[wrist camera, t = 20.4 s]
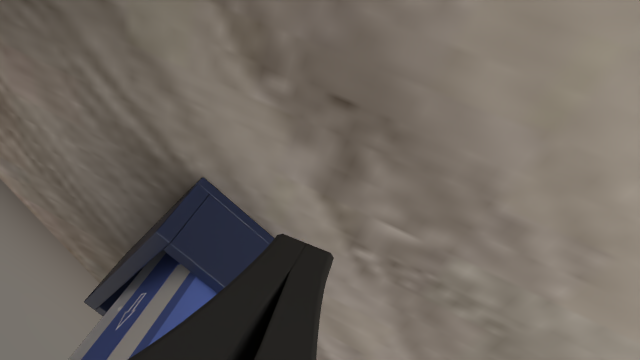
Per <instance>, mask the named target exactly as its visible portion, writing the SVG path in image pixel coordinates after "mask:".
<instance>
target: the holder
mask: <svg viewBox="0 0 640 360" xmlns="http://www.w3.org/2000/svg"><path fill="white" fill-rule="evenodd" d="M273 240H274V238H273V237H272V236H271V235H270V234H268V233H267V232H266V231H265V230H264V229H263V228H262V227H260V226H259V225H258V224H257V223H256V222H255V221H253V220H252V219H251V218H250V217H249V216H248V215H246V214H245V213H244V212H243V211H242V210H241V209H239V208H238V207H237V206H236V205H235V204H234V203H232V202H231V201H230V200H229V199H228V198H227V197H226V196H224V195H223V194H222V193H221V192H220V191H219V190H217V189H216V188H215V187H214V186H213V185H212V184H210V183H209V182H208V181H207V180H206V179H205V178H203V177H202V178H201V179H200V180H199V181H198V182H197V183H196V184H195V185H194V186H193V187H192V188H191V189H190V190H189V191H188V192H187V193H186V194H185V195H184V196H183V197H182V198H181V199H180V200H179V201H178V202H177V203H176V204H175V205H174V206H173V207H172V208H171V209H170V210H169V211H168V212H167V213H166V214H165V215H164V216H163V217H162V218H161V219H160V220H159V221H158V222H157V223H156V224H155V225H154V226H153V227H152V228H151V229H150V230H149V231H148V232H147V233H146V234H145V235H144V236H143V237H142V238H141V239H140V240H139V241H138V242H137V243H136V244H135V245H134V246H133V247H132V248H131V249H130V250H129V251H128V252H127V253H126V254H125V256H124V257H123V258H122V259H121V260H120V261H119V262H118V264H117V265H116V266H115V267H114V268H113V269H112V270H111V271H110V273H109V274H108V275H107V276H106V277H105V278H104V279H103V281H102V282H101V283H100V284H99V285H98V286H97V287H96V289H95V290H94V291H93V292H92V293H91V294H90V295H89V296H88V298H87V299H86V300H85V301H84V302H85V303H86V304H87V305H89V306H90V307H91V308H93V309H94V310H95V309H96V310H95V311H97V312H98V313H99V314H101V315H102V316H104V315H105V314H106V313H107V311H108V310H109V309H110V308H111V306H112V305H113V304H114V303H115V302H116V300H117V299H118V298H119V297H120V295H121V294H122V293H123V292H124V291H125V289H126V288H127V287H128V286H129V285H130V283H131V282H132V281H133V280H134V278H135V277H136V276H137V275H138V274H139V272H140V271H141V270H142V269H143V267H144V266H145V265H146V264H147V263H148V262H149V261H151V260H152V259H153V258H154V257H155V256H156V255H157V254H158V253H159V252H162V251H165V252H166V253H167V254H169V255H170V256H171V257H173V258H174V259H175V260H176V261H178V262H179V263H180V264H181V265H183V266H184V267H185V268H186V269H188V270H189V271H190V272H191V273H193V274H194V275H195V276H196V277H198V278H199V279H200V280H201V281H203V282H204V283H205V284H206V285H208V286H209V287H210V288H211V289H213V290H214V291H215V292H216V293H219V292H220V291H221V290H222V289H223V288H224V287H226V286H227V285H228V284H229V283H230V282H231V281H232V280H234V279H235V278H236V277H237V276H238V275H239V274H240V273H241V272H242V271H244V270H245V269H246V268H247V267H248V266H249V265H250V264H251V263H252V262H253V261H254V260H255V259H256V258H257V257H258V256H259V255H260V254H261V253H262V252H263V251H264V250H265V249H266V248H267V247H268V246H269V244H270V243H271V242H272V241H273Z"/></svg>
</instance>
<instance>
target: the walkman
mask: <svg viewBox="0 0 640 360" xmlns="http://www.w3.org/2000/svg"><path fill="white" fill-rule="evenodd" d="M217 294H218V293H216V292H215V291H214V290H213V289H211V288H210V287H209V286H208V285H206V284H205V283H204V282H203V281H201V280H200V279H199V278H198V277H196V276H195V275H194V274H193V273H191V272H190V271H189V270H188V269H186V268H185V267H184V266H183V265H181V264H180V263H179V262H178V261H176V260H175V259H174V258H173V257H171V256H170V255H169V254H167V253H166V252H165V251H162V252H159V253H158V254H157V255H156V256H155V257H154V258H153V259H152V260H151V261H149V262H148V263H147V264H146V265H145V266H144V267H143V269H142V270H141V271H140V272H139V274H138V275H137V276H136V277H135V278H134V280H133V281H132V282H131V283H130V285H129V286H128V287H127V288H126V289H125V291H124V292H123V293H122V294H121V295H120V297H119V298H118V299H117V300H116V302H115V303H114V304H113V305H112V306H111V308H110V309H109V310H108V311H107V313H106V314H105V315H104V316H103V318H102V319H101V320H100V321H99V322H98V324H97V325H96V326H95V327H94V329H93V330H92V331H91V332H90V333H89V334H88V336H87V337H86V338H85V339H84V341H83V342H82V343H81V344H80V345H79V347H78V348H77V349H76V350H75V352H74V353H73V354H72V355H71V356H70V358H69V359H68V360H128V359H129V358H131V357H132V356H134V355H135V354H137V353H139V352H140V351H142V350H143V349H144V348H146V347H147V346H149V345H150V344H152V343H153V342H155V341H156V340H158V339H159V338H161V337H162V336H163V335H165V334H166V333H168V332H169V331H170V330H172V329H173V328H174V327H176V326H177V325H179V324H180V323H181V322H183V321H184V320H185V319H186V318H188V317H189V316H190V315H191V314H193V313H194V312H195V311H197V310H198V309H199V308H200V307H202V306H203V305H204V304H205V303H207V302H208V301H209V300H211V299H212V298H213V297H214V296H215V295H217Z"/></svg>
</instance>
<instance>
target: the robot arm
mask: <svg viewBox="0 0 640 360" xmlns="http://www.w3.org/2000/svg"><path fill="white" fill-rule="evenodd" d="M332 261H333V256H332V255H331V253H329V252H327V251H324V250H322V249H319V248H317V247H314V246H312V245H309V244H307V243H304V242H302V241H299V240H297V239H294V238H292V237H289V236H287V235H284V234H280V235H277V236H276V238H275V239H274V240H273V241H272V242H271V243H270V244H269V246H268V247H267V248H266V249H265V250H264V251H263V252H262V253H261V254H260V255H259V256H258V257H257V258H256V259H255V260H254V261H253V262H252V263H251V264H250V265H249V266H248V267H247V268H246V269H245V270H244V271H242V272H241V273H240V274H239V275H238V276H237V277H236V278H235V279H234V280H232V281H231V282H230V283H229V284H228V285H227V286H226V287H224V288H223V289H222V290H221V291H220V292H219V293H218V294H217V295H215V296H214V297H213V298H212V299H211V300H209V301H208V302H207V303H205V304H204V305H203V306H202V307H200V308H199V309H198V310H197V311H195V312H194V313H193V314H191V315H190V316H189V317H188V318H186V319H185V320H184V321H183V322H181V323H180V324H179V325H177V326H176V327H174V328H173V329H172V330H170V331H169V332H168V333H166V334H165V335H163V336H162V337H161V338H159V339H158V340H156V341H155V342H153V343H152V344H150V345H149V346H147V347H146V348H144V349H143V350H142V351H140V352H139V353H137V354H135V355H134V356H132V357H131V358H129V359H128V360H316V352H317V339H318V329H319V319H320V311H321V304H322V299H323V293H324V288H325V283H326V280H327V277H328V274H329V271H330V268H331V265H332Z"/></svg>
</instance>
